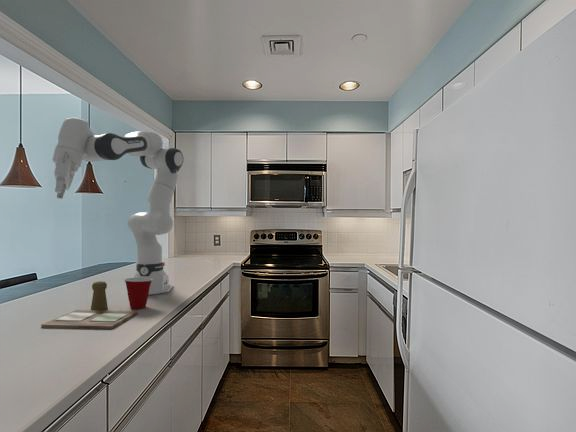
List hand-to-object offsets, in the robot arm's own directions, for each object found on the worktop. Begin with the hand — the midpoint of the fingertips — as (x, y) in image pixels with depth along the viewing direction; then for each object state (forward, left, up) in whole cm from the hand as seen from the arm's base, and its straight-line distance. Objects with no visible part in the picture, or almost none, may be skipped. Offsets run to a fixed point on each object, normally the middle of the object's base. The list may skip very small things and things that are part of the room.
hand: (58, 195), depth 123 cm
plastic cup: (-19, +20, -45) cm, 52 cm away
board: (-1, +12, -44) cm, 46 cm away
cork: (-15, +6, -45) cm, 47 cm away
